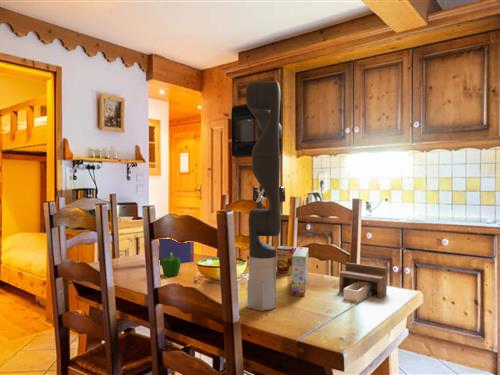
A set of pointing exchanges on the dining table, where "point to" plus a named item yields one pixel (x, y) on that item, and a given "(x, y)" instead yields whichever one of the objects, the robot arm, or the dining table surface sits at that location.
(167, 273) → the bell pepper
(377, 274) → the cubby
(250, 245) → the robot arm
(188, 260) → the cereal box
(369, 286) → the tray shell
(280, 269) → the canned food
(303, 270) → the snack box
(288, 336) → the dining table surface
